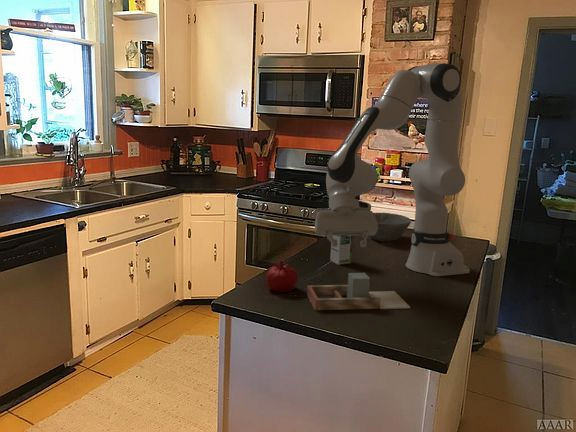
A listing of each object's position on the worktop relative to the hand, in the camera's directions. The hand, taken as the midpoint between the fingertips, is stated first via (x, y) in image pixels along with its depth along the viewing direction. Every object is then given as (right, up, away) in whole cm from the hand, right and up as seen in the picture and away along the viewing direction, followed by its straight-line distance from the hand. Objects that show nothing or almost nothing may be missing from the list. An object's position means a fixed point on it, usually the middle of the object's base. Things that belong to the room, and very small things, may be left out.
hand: (349, 246), depth 150 cm
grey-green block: (+1, -16, -8) cm, 18 cm away
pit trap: (-8, -16, -9) cm, 20 cm away
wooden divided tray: (-3, -16, -8) cm, 18 cm away
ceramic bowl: (+23, -1, +63) cm, 67 cm away
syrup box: (0, -8, +29) cm, 30 cm away
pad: (+11, -16, -6) cm, 20 cm away
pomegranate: (-21, -14, 0) cm, 25 cm away
